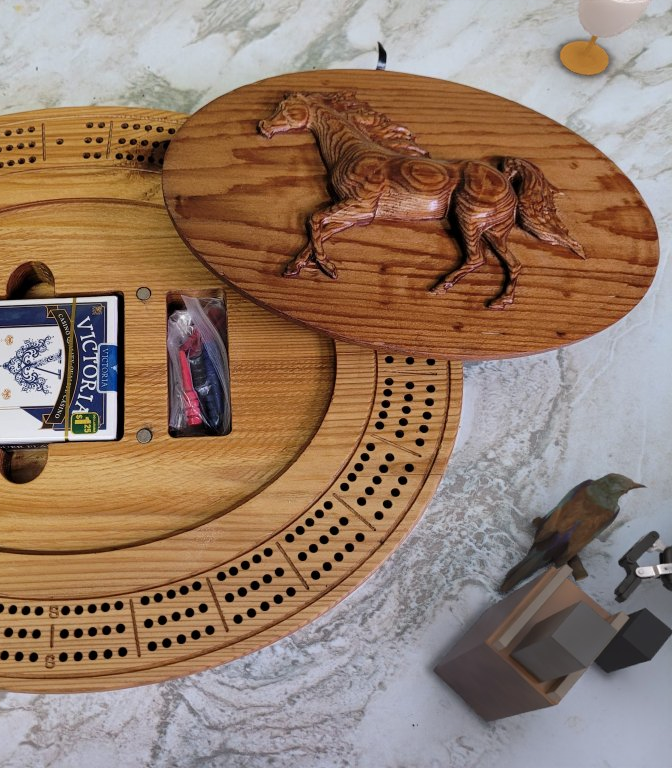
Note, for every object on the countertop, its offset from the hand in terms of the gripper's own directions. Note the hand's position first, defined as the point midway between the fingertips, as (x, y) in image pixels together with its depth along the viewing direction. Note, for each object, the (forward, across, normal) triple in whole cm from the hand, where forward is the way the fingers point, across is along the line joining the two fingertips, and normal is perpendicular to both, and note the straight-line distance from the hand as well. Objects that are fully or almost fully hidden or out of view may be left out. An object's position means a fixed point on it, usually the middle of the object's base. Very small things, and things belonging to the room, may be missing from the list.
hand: (649, 625), depth 103 cm
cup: (-88, -66, +10) cm, 111 cm away
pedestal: (+15, -10, +10) cm, 20 cm away
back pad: (+2, 0, +10) cm, 10 cm away
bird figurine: (-5, -13, +10) cm, 17 cm away
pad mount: (+15, -10, -13) cm, 22 cm away
